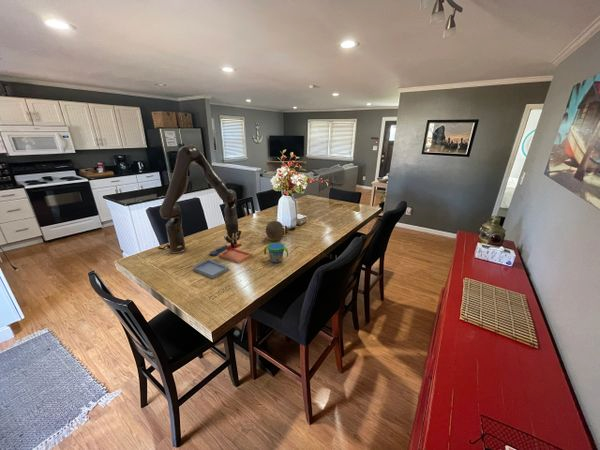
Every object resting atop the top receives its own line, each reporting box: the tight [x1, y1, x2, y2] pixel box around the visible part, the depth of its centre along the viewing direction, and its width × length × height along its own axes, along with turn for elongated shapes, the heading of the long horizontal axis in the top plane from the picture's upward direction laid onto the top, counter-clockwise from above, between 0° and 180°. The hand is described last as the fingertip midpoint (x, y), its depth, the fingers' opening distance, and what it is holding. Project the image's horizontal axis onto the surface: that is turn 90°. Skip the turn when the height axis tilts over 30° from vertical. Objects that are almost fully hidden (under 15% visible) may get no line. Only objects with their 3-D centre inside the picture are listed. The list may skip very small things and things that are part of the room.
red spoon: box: [226, 242, 243, 251], centre depth 154 cm, size 13×5×3 cm, turn 58°
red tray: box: [219, 248, 253, 264], centre depth 156 cm, size 17×11×2 cm, turn 58°
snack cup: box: [263, 242, 289, 264], centre depth 150 cm, size 16×10×10 cm
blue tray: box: [192, 259, 229, 279], centre depth 140 cm, size 17×11×2 cm, turn 58°
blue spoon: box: [209, 244, 228, 257], centre depth 162 cm, size 13×5×3 cm, turn 148°
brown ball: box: [265, 220, 285, 242], centre depth 179 cm, size 14×14×15 cm
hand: (234, 247), depth 154 cm, fingers closed on red spoon, 1 cm apart
